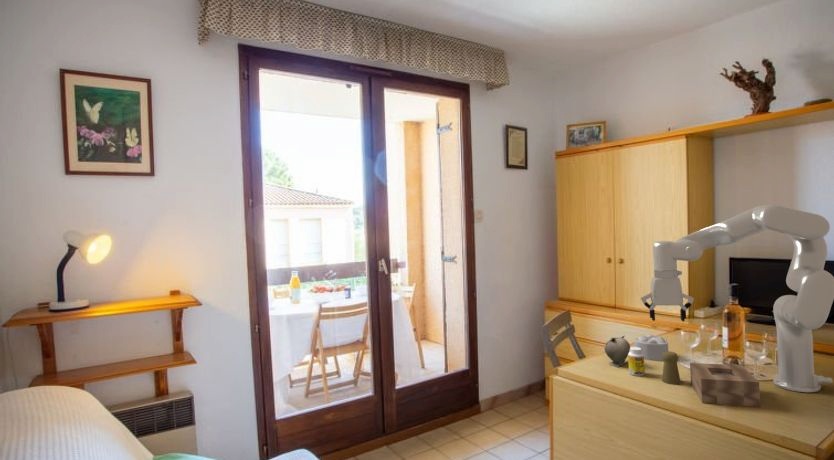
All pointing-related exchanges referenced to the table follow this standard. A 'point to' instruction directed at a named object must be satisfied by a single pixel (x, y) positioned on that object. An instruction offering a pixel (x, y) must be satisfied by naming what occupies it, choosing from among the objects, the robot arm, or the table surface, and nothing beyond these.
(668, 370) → the olive pear shape
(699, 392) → the brown square frame
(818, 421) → the table surface
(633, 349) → the supplement bottle
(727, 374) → the gray square plate
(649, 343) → the white egg tray
